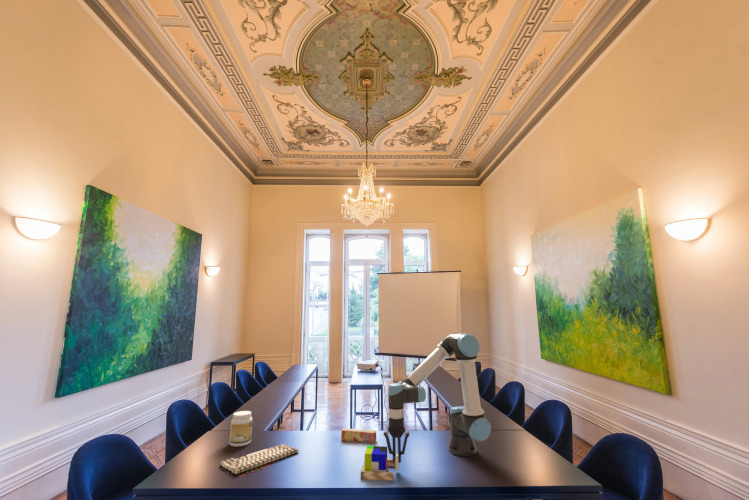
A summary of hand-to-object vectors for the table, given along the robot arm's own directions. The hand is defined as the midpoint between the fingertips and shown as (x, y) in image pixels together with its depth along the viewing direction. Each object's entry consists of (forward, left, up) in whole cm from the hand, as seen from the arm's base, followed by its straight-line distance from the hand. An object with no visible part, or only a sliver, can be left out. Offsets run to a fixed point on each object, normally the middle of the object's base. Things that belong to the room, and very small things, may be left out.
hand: (397, 469), depth 161 cm
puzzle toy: (+10, +1, -2) cm, 10 cm away
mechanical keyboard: (+72, -7, -2) cm, 72 cm away
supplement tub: (+95, -28, -2) cm, 99 cm away
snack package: (+26, -40, -2) cm, 48 cm away
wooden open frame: (+8, 0, -1) cm, 8 cm away
